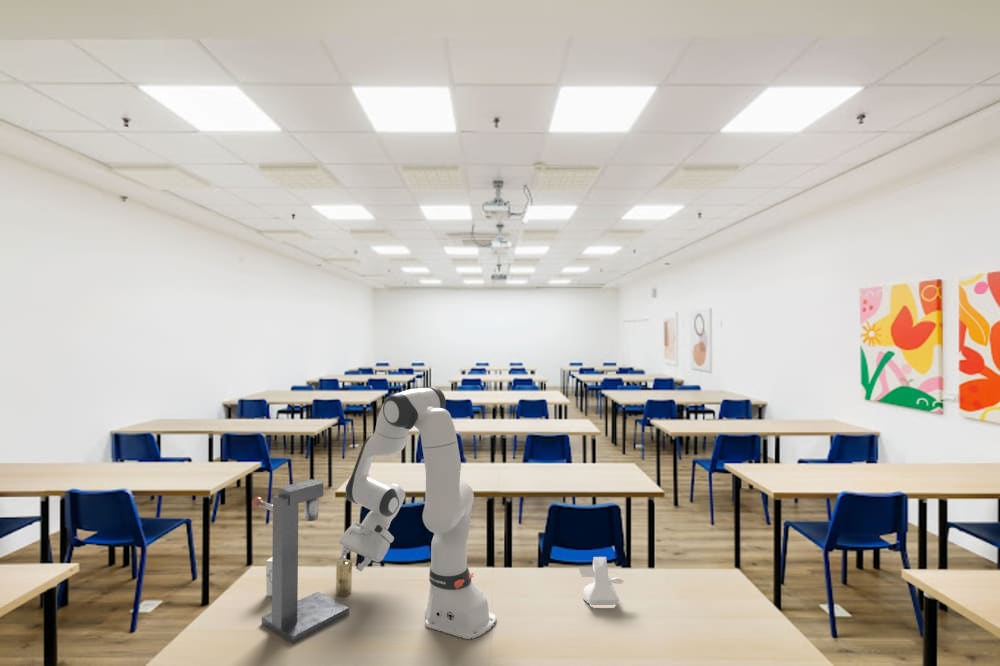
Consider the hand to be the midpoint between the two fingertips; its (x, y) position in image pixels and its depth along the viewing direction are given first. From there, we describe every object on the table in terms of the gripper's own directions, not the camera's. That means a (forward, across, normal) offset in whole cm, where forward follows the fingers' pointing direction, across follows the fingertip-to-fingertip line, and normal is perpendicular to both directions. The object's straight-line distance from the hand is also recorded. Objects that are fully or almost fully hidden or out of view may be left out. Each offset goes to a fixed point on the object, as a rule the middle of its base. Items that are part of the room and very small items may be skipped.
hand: (349, 565), depth 174 cm
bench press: (+19, 0, -8) cm, 21 cm away
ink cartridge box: (+16, -18, -4) cm, 24 cm away
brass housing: (+7, 0, +4) cm, 8 cm away
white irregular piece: (-26, +71, +37) cm, 84 cm away
